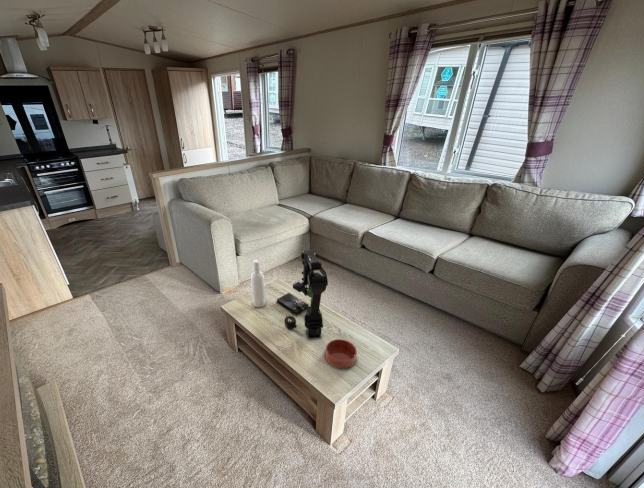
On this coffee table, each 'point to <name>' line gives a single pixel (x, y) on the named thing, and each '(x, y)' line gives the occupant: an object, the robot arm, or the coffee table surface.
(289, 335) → the coffee table surface
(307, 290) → the cucumber
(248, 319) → the coffee table surface
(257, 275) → the bottle
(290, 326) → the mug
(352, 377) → the coffee table surface
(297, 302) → the stove knob
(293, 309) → the stove
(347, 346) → the red bowl
